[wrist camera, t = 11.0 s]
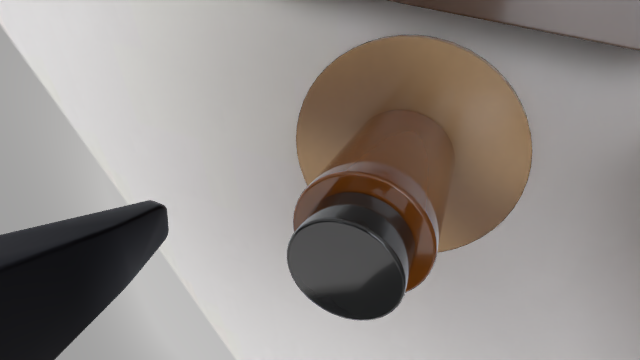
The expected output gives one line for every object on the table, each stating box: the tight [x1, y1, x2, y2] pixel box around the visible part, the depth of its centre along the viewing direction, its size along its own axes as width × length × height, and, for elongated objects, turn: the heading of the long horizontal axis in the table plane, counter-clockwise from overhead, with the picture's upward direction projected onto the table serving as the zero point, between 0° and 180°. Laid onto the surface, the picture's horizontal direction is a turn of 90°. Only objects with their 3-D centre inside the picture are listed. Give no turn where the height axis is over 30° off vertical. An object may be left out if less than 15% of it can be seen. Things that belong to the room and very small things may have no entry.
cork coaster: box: [296, 35, 532, 252], centre depth 15 cm, size 9×9×1 cm
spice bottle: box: [287, 110, 455, 320], centre depth 12 cm, size 4×4×7 cm
